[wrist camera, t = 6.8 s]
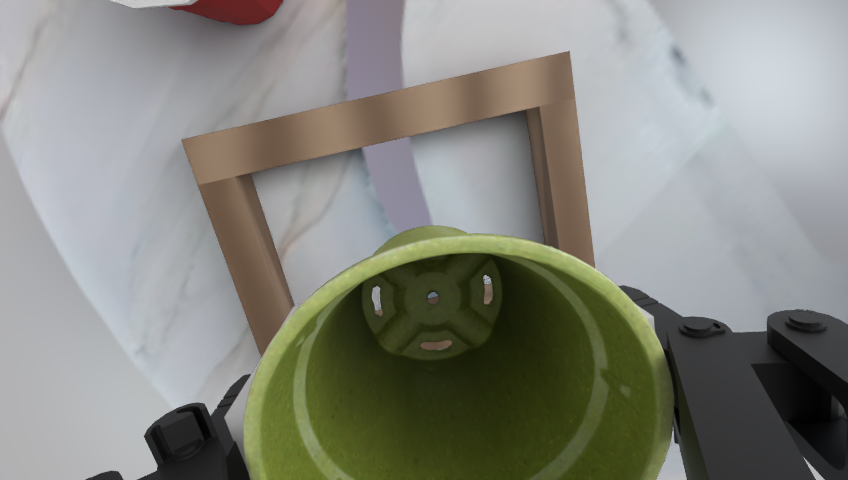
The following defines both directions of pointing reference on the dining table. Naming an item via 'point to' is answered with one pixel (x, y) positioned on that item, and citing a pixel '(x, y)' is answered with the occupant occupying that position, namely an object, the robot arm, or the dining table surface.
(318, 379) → the plant pot
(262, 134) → the open rectangular wooden frame
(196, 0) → the plastic cup
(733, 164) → the dining table surface
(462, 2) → the dining table surface
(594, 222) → the dining table surface
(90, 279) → the dining table surface
